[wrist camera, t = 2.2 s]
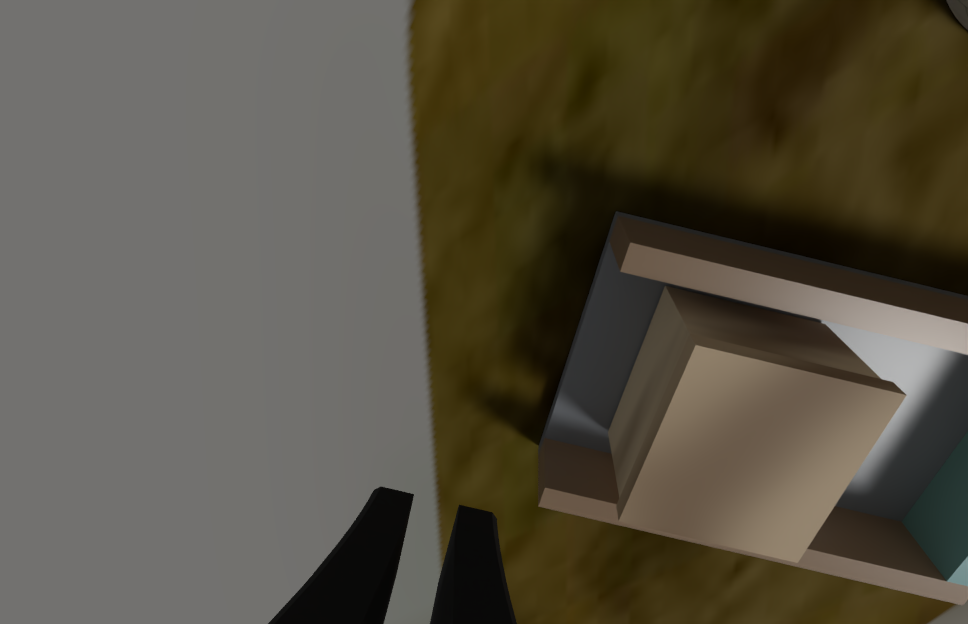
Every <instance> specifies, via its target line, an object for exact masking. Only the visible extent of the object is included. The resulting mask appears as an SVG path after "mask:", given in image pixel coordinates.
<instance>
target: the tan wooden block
mask: <svg viewBox="0 0 968 624" xmlns="http://www.w3.org/2000/svg"><path fill="white" fill-rule="evenodd" d="M906 396H907V395H906V394H905V393H904V392H903V391H902V390H901V389H900V388H899V387H898V386H897V385H896V384H895V383H894V382H891V381H887V380H883V379H881V378H880V377H879V376H878V375H877V374H876V373H875V372H874V371H873V370H872V369H871V368H870V367H869V366H868V365H867V364H866V363H865V362H864V361H863V360H862V359H861V358H860V357H859V356H857V355H856V354H855V353H854V352H853V351H852V350H851V349H850V348H849V347H848V346H847V345H846V344H845V343H844V342H843V341H842V340H841V339H840V338H839V337H838V336H837V335H836V334H835V333H834V332H833V331H832V330H831V329H830V328H829V327H828V326H827V325H826V324H823V323H819V322H814V321H810V320H806V319H802V318H798V317H794V316H789V315H785V314H781V313H777V312H773V311H769V310H764V309H760V308H756V307H752V306H748V305H743V304H739V303H735V302H731V301H727V300H723V299H718V298H714V297H710V296H706V295H702V294H697V293H693V292H689V291H685V290H681V289H677V288H672V287H668V286H665V287H664V290H663V292H662V295H661V297H660V300H659V303H658V305H657V308H656V310H655V313H654V315H653V318H652V320H651V323H650V326H649V328H648V331H647V333H646V336H645V338H644V341H643V344H642V346H641V349H640V351H639V354H638V356H637V359H636V362H635V364H634V367H633V369H632V372H631V374H630V377H629V380H628V382H627V385H626V387H625V390H624V392H623V395H622V397H621V400H620V403H619V405H618V408H617V410H616V413H615V415H614V418H613V421H612V423H611V426H610V428H609V431H608V436H609V442H610V447H611V453H612V459H613V464H614V470H615V476H616V481H617V487H618V493H619V500H618V503H617V505H616V508H617V514H618V520H619V522H624V523H628V524H632V525H636V526H641V527H645V528H649V529H654V530H658V531H662V532H667V533H671V534H675V535H679V536H684V537H688V538H692V539H697V540H701V541H705V542H709V543H714V544H718V545H722V546H727V547H731V548H735V549H739V550H744V551H748V552H752V553H757V554H761V555H765V556H769V557H774V558H778V559H782V560H787V561H791V562H795V563H798V562H799V560H800V559H801V557H802V556H803V554H804V553H805V551H806V549H807V548H808V546H809V545H810V543H811V542H812V540H813V539H814V537H815V536H816V534H817V533H818V531H819V529H820V528H821V526H822V525H823V523H824V522H825V520H826V519H827V517H828V516H829V514H830V513H831V511H832V509H833V508H834V506H835V505H836V503H837V502H838V500H839V499H840V497H841V496H842V494H843V493H844V491H845V489H846V488H847V486H848V485H849V483H850V482H851V480H852V479H853V477H854V476H855V474H856V473H857V471H858V469H859V468H860V466H861V465H862V463H863V462H864V460H865V459H866V457H867V456H868V454H869V453H870V451H871V449H872V448H873V446H874V445H875V443H876V442H877V440H878V439H879V437H880V436H881V434H882V433H883V431H884V429H885V428H886V426H887V425H888V423H889V422H890V420H891V419H892V417H893V416H894V414H895V413H896V411H897V409H898V408H899V406H900V405H901V403H902V402H903V400H904V399H905V397H906Z"/></svg>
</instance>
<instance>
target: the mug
mask: <svg viewBox="0 0 968 624" xmlns="http://www.w3.org/2000/svg"><path fill="white" fill-rule="evenodd" d="M946 1H947V3H948V5H949V8H950V9H951V11H952V12H953V14H954V15H955V17H956V18H957V19H958V21H959V22H960V23H961V24H962V25H963V26H964V27H965V28H966V29H967V30H968V0H946Z"/></svg>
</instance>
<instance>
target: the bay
mask: <svg viewBox="0 0 968 624" xmlns="http://www.w3.org/2000/svg"><path fill="white" fill-rule="evenodd" d="M665 286H668V287H672V288H677V289H681V290H685V291H689V292H693V293H697V294H702V295H706V296H710V297H714V298H718V299H723V300H727V301H731V302H735V303H739V304H743V305H748V306H752V307H756V308H760V309H764V310H769V311H773V312H777V313H781V314H785V315H789V316H794V317H798V318H802V319H806V320H810V321H814V322H819V323H823V324H826V325H827V326H828V327H829V328H830V329H831V330H832V331H833V332H834V333H835V334H836V335H837V336H838V337H839V338H840V339H841V340H842V341H843V342H844V343H845V344H846V345H847V346H848V347H849V348H850V349H851V350H852V351H853V352H854V353H855V354H856V355H857V356H859V357H860V358H861V359H862V360H863V361H864V362H865V363H866V364H867V365H868V366H869V367H870V368H871V369H872V370H873V371H874V372H875V373H876V374H877V375H878V376H879V377H880V378H881V379H883V380H887V381H891V382H894V383H895V384H896V385H897V386H898V387H899V388H900V389H901V390H902V391H903V392H904V393H905V394H906V395H907V396H906V397H905V399H904V400H903V402H902V403H901V405H900V406H899V408H898V409H897V411H896V413H895V414H894V416H893V417H892V419H891V420H890V422H889V423H888V425H887V426H886V428H885V429H884V431H883V433H882V434H881V436H880V437H879V439H878V440H877V442H876V443H875V445H874V446H873V448H872V449H871V451H870V453H869V454H868V456H867V457H866V459H865V460H864V462H863V463H862V465H861V466H860V468H859V469H858V471H857V473H856V474H855V476H854V477H853V479H852V480H851V482H850V483H849V485H848V486H847V488H846V489H845V491H844V493H843V494H842V496H841V497H840V499H839V500H838V502H837V503H836V505H835V506H834V508H833V509H832V511H831V513H830V514H829V516H828V517H827V519H826V520H825V522H824V523H823V525H822V526H821V528H820V529H819V531H818V533H817V534H816V536H815V537H814V539H813V540H812V542H811V543H810V545H809V546H808V548H807V549H806V551H805V553H804V554H803V556H802V557H801V559H800V560H799V562H798V563H795V562H791V561H787V560H782V559H778V558H774V557H769V556H765V555H761V554H757V553H752V552H748V551H744V550H739V549H735V548H731V547H727V546H722V545H718V544H714V543H709V542H705V541H701V540H697V539H692V538H688V537H684V536H679V535H675V534H671V533H667V532H662V531H658V530H654V529H649V528H645V527H641V526H636V525H632V524H628V523H624V522H619V520H618V514H617V508H616V505H617V503H618V500H619V493H618V487H617V481H616V476H615V470H614V464H613V459H612V453H611V447H610V442H609V436H608V431H609V428H610V426H611V423H612V421H613V418H614V415H615V413H616V410H617V408H618V405H619V403H620V400H621V397H622V395H623V392H624V390H625V387H626V385H627V382H628V380H629V377H630V374H631V372H632V369H633V367H634V364H635V362H636V359H637V356H638V354H639V351H640V349H641V346H642V344H643V341H644V338H645V336H646V333H647V331H648V328H649V326H650V323H651V320H652V318H653V315H654V313H655V310H656V308H657V305H658V303H659V300H660V297H661V295H662V292H663V290H664V287H665ZM538 506H539V507H543V508H547V509H552V510H556V511H560V512H565V513H569V514H573V515H577V516H582V517H586V518H590V519H595V520H599V521H603V522H608V523H612V524H616V525H620V526H625V527H629V528H633V529H638V530H642V531H646V532H650V533H655V534H659V535H663V536H668V537H672V538H676V539H680V540H685V541H689V542H693V543H698V544H702V545H706V546H710V547H715V548H719V549H723V550H728V551H732V552H736V553H741V554H745V555H749V556H753V557H758V558H762V559H766V560H771V561H775V562H779V563H783V564H788V565H792V566H796V567H801V568H805V569H809V570H813V571H818V572H822V573H826V574H831V575H835V576H839V577H844V578H848V579H852V580H856V581H861V582H865V583H869V584H874V585H878V586H882V587H886V588H891V589H895V590H899V591H904V592H908V593H912V594H916V595H921V596H925V597H929V598H934V599H938V600H942V601H947V602H951V603H955V604H959V605H964V603H965V602H966V601H967V600H968V296H966V295H962V294H958V293H954V292H950V291H945V290H941V289H937V288H933V287H929V286H925V285H921V284H916V283H912V282H908V281H904V280H900V279H896V278H891V277H887V276H883V275H879V274H875V273H871V272H867V271H862V270H858V269H854V268H850V267H846V266H842V265H837V264H833V263H829V262H825V261H821V260H817V259H813V258H808V257H804V256H800V255H796V254H792V253H788V252H784V251H779V250H775V249H771V248H767V247H763V246H759V245H754V244H750V243H746V242H742V241H738V240H734V239H730V238H725V237H721V236H717V235H713V234H709V233H705V232H700V231H696V230H692V229H688V228H684V227H680V226H676V225H671V224H667V223H663V222H659V221H655V220H651V219H646V218H642V217H638V216H634V215H630V214H626V213H622V212H617V211H616V212H615V215H614V218H613V221H612V224H611V227H610V230H609V233H608V237H607V240H606V243H605V246H604V249H603V252H602V255H601V258H600V261H599V264H598V267H597V270H596V273H595V276H594V279H593V282H592V285H591V288H590V291H589V294H588V297H587V300H586V304H585V307H584V310H583V313H582V316H581V319H580V322H579V325H578V328H577V331H576V334H575V337H574V340H573V343H572V346H571V349H570V352H569V355H568V358H567V361H566V364H565V367H564V371H563V374H562V377H561V380H560V383H559V386H558V389H557V392H556V395H555V398H554V401H553V404H552V407H551V410H550V413H549V416H548V419H547V422H546V425H545V428H544V431H543V434H542V437H541V441H540V444H539V449H538Z"/></svg>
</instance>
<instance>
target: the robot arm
mask: <svg viewBox="0 0 968 624" xmlns="http://www.w3.org/2000/svg"><path fill="white" fill-rule="evenodd" d="M413 496H414V494H410V493H406V492H402V491H398V490H393V489H389V488H385V487H379V488H377V489H375V490H374V491H373V493H372V494H371V496H370V498H369V500H368V502H367V503H366V505H365V506H364V508H363V510H362V511H361V512H360V514H359V515H358V517H357V518H356V520H355V521H354V523H353V524H352V525H351V527H350V528H349V530H348V531H347V532H346V534H345V535H344V536H343V538H342V539H341V540H340V542H339V543H338V544H337V545H336V547H335V548H334V549H333V550H332V552H331V553H330V554H329V555H328V556H327V558H326V559H325V560H324V561H323V563H322V564H321V565H320V566H319V567H318V569H317V570H316V571H315V572H314V574H313V575H312V576H311V577H310V578H309V580H308V581H307V582H306V583H305V584H304V585H303V586H302V588H301V589H300V590H299V591H298V592H297V593H296V594H295V595H294V596H293V597H292V598H291V600H290V601H289V602H288V603H287V604H286V605H285V606H284V607H283V608H282V609H281V610H280V611H279V613H278V614H277V615H276V616H275V617H274V618H273V619H272V620H271V621H270V622H269V623H268V624H383V623H384V620H385V616H386V612H387V608H388V604H389V601H390V597H391V593H392V589H393V585H394V581H395V578H396V574H397V570H398V564H399V560H400V556H401V551H402V547H403V542H404V538H405V533H406V528H407V524H408V519H409V514H410V510H411V506H412V501H413ZM430 624H517V623H516V619H515V615H514V611H513V608H512V604H511V600H510V596H509V591H508V587H507V583H506V578H505V573H504V568H503V563H502V557H501V552H500V545H499V538H498V530H497V519H496V517H495V516H494V514H493V513H492V512H488V511H484V510H479V509H475V508H471V507H466V506H462V505H459V507H458V511H457V515H456V519H455V522H454V526H453V530H452V534H451V537H450V541H449V545H448V548H447V552H446V556H445V560H444V563H443V567H442V571H441V575H440V578H439V582H438V587H437V593H436V597H435V602H434V607H433V612H432V617H431V622H430Z"/></svg>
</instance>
